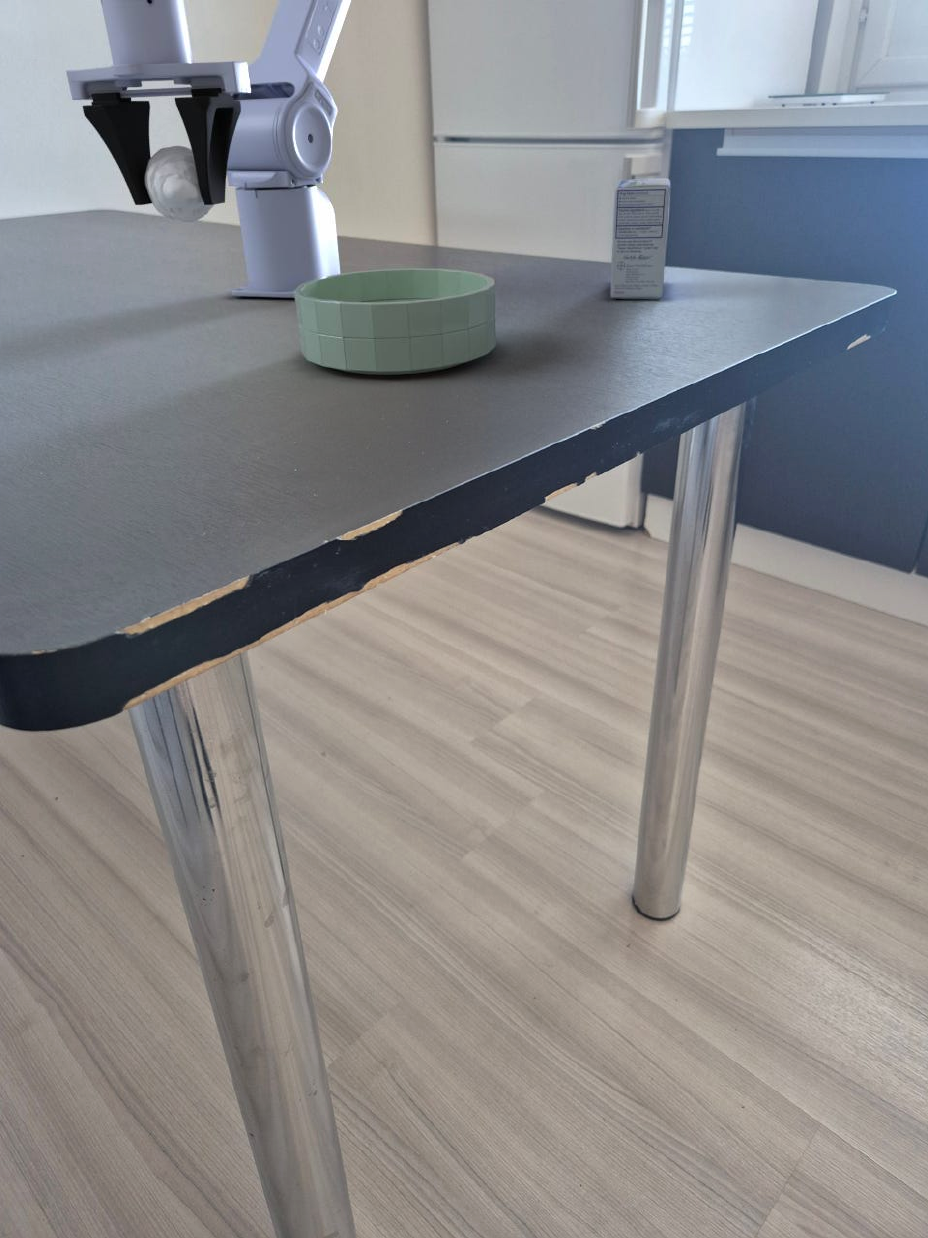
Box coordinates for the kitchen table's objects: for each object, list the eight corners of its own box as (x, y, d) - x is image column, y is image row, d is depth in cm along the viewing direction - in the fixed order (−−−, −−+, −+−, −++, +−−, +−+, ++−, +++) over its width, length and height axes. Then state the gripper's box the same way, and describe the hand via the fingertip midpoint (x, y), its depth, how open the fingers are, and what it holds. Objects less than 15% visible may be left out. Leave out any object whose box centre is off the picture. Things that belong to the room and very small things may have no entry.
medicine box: (662, 300, 71) (672, 184, 66) (608, 299, 72) (614, 185, 67) (662, 283, 77) (671, 177, 73) (613, 283, 78) (619, 178, 74)
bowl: (350, 329, 64) (344, 266, 62) (515, 336, 61) (515, 269, 59) (268, 374, 54) (258, 300, 52) (463, 385, 50) (461, 306, 48)
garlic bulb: (155, 229, 65) (139, 148, 62) (152, 222, 69) (136, 146, 67) (228, 224, 66) (215, 145, 63) (219, 217, 71) (207, 143, 68)
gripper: (18, -6, 59) (70, 208, 66) (197, -22, 55) (232, 208, 62) (85, 3, 65) (127, 200, 72) (252, -10, 61) (278, 199, 68)
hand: (179, 203), depth 67 cm, fingers closed on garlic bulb, 6 cm apart
